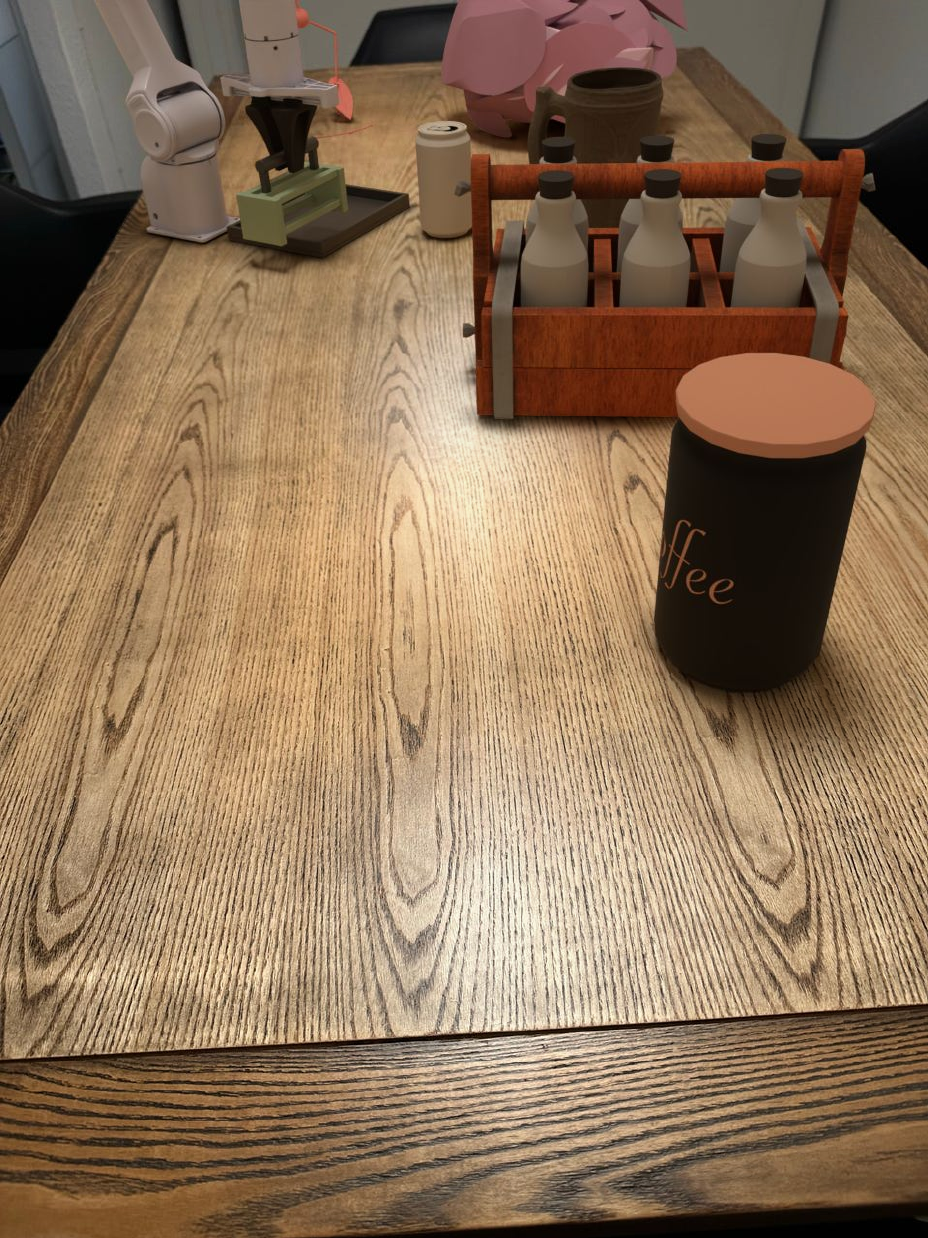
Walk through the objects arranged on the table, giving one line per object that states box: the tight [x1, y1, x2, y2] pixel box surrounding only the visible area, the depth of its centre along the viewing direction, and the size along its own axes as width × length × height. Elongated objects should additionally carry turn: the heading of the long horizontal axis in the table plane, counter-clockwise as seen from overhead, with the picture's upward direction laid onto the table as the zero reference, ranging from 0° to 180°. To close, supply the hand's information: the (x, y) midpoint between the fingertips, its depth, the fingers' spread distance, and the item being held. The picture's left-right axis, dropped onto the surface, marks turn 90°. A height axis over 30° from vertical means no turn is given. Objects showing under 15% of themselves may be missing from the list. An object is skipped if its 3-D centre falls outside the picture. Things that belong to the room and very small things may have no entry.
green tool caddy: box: [235, 136, 348, 246], centre depth 123 cm, size 6×13×8 cm, turn 150°
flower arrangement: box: [440, 0, 689, 138], centre depth 155 cm, size 35×24×28 cm
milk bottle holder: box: [454, 133, 876, 420], centre depth 94 cm, size 21×35×19 cm, turn 85°
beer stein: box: [527, 67, 665, 228], centre depth 115 cm, size 15×11×20 cm
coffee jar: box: [653, 353, 877, 693], centre depth 64 cm, size 11×11×18 cm
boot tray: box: [226, 183, 411, 259], centre depth 134 cm, size 14×19×2 cm
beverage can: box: [414, 120, 472, 239], centre depth 127 cm, size 6×6×12 cm
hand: (289, 169), depth 122 cm, fingers closed on green tool caddy
